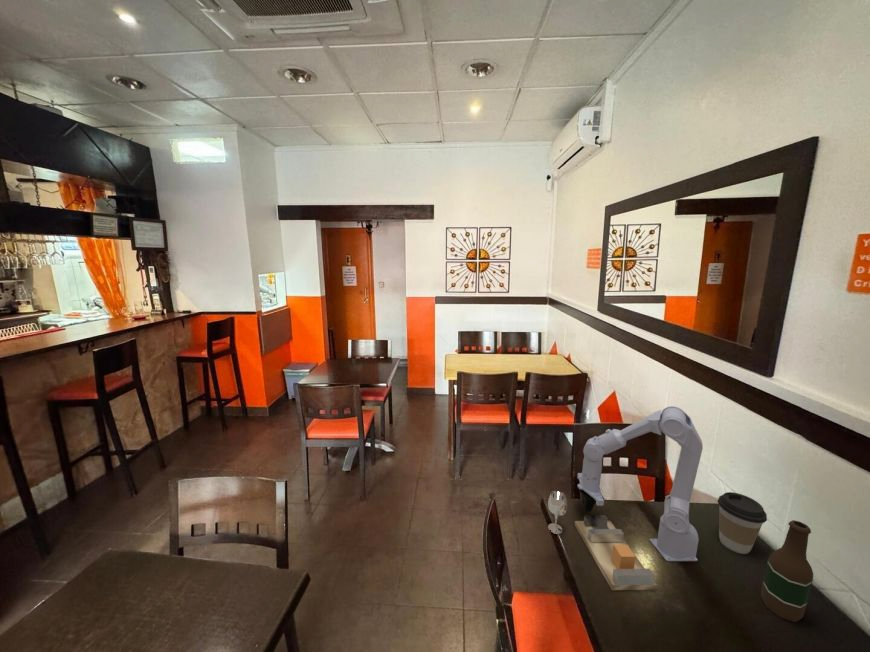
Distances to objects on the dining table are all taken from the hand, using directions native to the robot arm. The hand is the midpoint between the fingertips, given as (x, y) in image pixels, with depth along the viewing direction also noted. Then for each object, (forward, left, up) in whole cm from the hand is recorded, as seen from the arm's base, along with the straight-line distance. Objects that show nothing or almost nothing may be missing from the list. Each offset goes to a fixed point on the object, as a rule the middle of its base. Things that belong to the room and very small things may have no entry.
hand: (587, 510), depth 116 cm
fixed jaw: (0, +26, -1) cm, 26 cm away
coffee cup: (-41, +12, -3) cm, 43 cm away
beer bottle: (-35, +32, -3) cm, 47 cm away
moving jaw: (0, +9, -1) cm, 9 cm away
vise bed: (0, +16, -2) cm, 16 cm away
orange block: (0, +21, -1) cm, 21 cm away
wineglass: (+13, +5, -3) cm, 14 cm away
